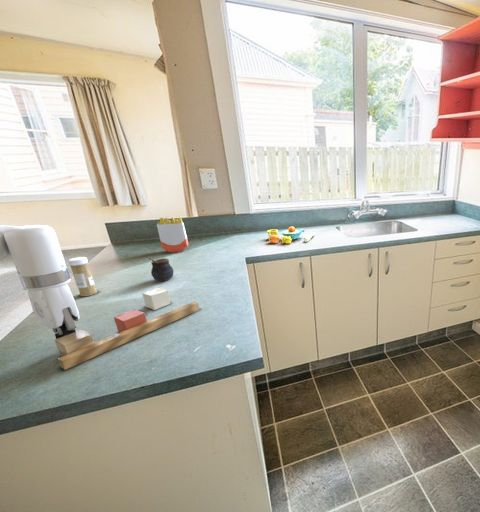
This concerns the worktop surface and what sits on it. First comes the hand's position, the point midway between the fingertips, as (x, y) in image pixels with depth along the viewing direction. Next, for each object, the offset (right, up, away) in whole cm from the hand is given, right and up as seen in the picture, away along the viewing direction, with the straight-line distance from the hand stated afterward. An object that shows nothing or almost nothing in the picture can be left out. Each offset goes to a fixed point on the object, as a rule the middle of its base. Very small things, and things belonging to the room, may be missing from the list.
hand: (69, 345), depth 75 cm
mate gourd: (-9, +13, +44) cm, 47 cm away
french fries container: (-29, +25, +81) cm, 89 cm away
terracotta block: (+9, +2, +9) cm, 13 cm away
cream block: (+5, +6, +23) cm, 24 cm away
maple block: (+4, -2, -2) cm, 5 cm away
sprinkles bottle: (-26, +9, +31) cm, 41 cm away
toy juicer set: (+25, +32, +103) cm, 111 cm away
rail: (+12, +1, +7) cm, 14 cm away
